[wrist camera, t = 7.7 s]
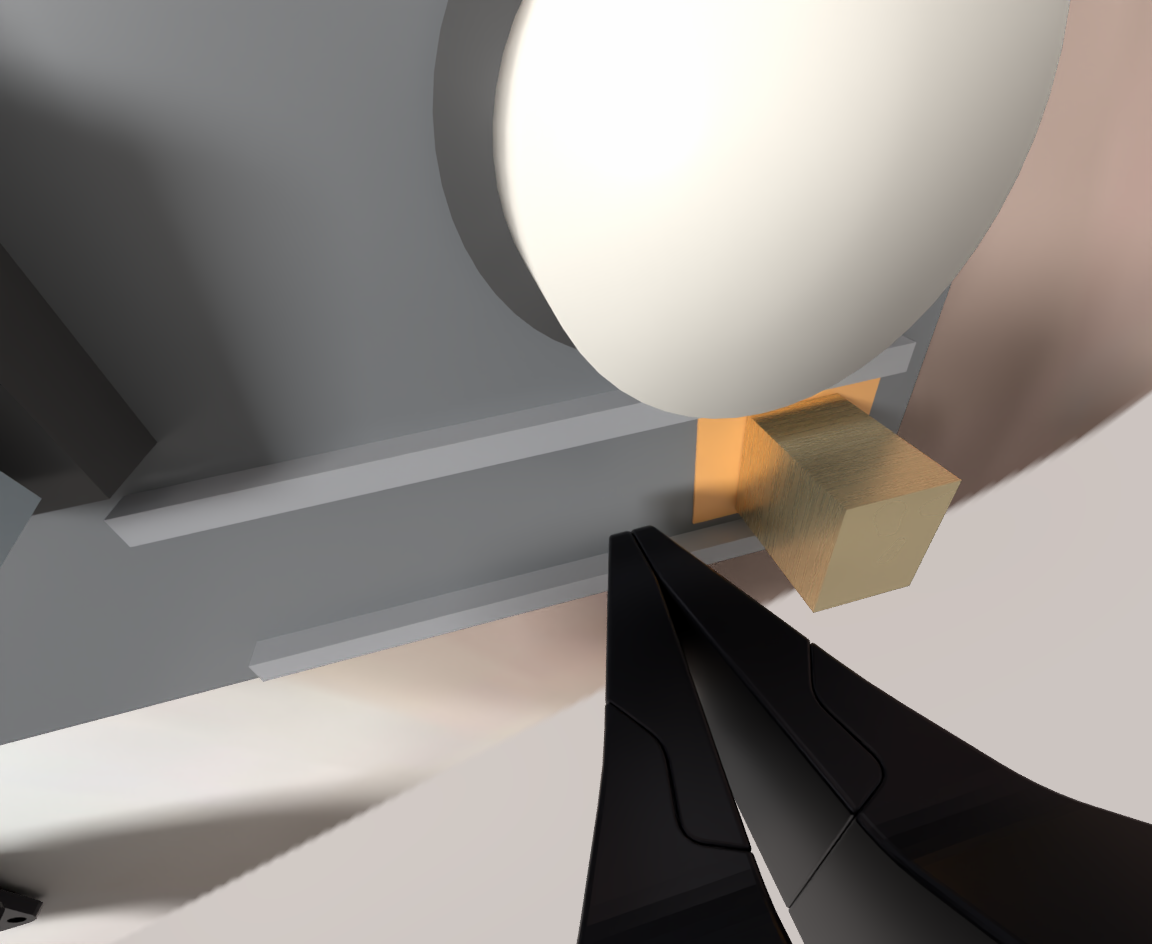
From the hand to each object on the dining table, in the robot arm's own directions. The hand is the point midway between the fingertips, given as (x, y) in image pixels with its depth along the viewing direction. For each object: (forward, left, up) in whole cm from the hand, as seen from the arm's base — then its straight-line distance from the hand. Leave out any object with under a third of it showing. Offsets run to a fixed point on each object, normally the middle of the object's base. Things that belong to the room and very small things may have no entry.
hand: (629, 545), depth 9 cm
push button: (+1, +6, 0) cm, 6 cm away
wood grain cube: (+4, 0, -1) cm, 4 cm away
